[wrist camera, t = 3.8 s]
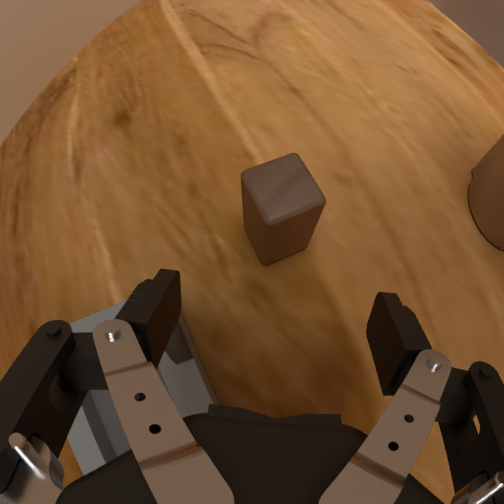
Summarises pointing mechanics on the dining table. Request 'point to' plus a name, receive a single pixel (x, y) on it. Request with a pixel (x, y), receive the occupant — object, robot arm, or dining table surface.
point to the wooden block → (280, 207)
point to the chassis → (103, 409)
